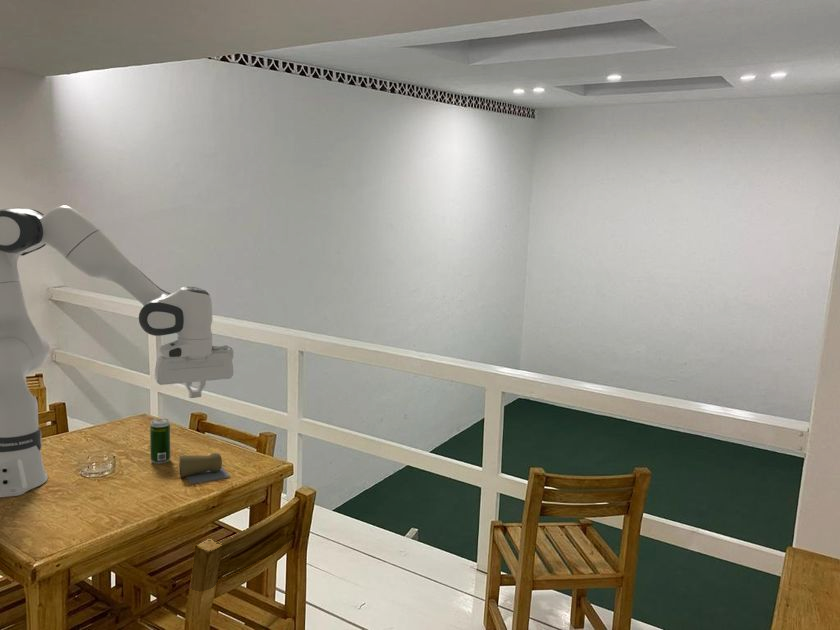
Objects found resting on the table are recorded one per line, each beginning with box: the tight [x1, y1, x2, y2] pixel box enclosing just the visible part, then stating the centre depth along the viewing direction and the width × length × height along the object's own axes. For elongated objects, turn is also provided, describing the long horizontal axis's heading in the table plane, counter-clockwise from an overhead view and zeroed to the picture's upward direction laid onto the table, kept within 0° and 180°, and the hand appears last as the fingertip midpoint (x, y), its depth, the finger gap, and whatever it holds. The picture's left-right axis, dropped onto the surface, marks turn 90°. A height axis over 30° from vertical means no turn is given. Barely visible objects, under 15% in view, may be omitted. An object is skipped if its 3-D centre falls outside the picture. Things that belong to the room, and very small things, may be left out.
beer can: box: [149, 418, 171, 465], centre depth 194 cm, size 5×5×12 cm
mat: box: [185, 466, 231, 485], centre depth 186 cm, size 10×10×1 cm
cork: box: [178, 452, 223, 478], centre depth 186 cm, size 6×6×11 cm
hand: (195, 397), depth 182 cm, fingers closed
